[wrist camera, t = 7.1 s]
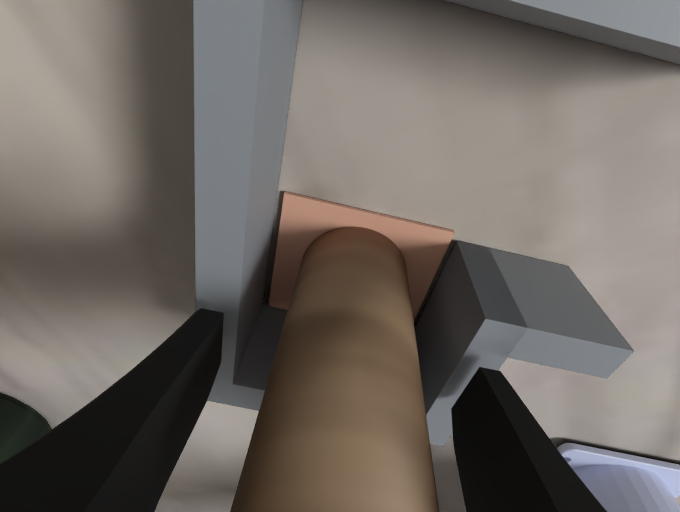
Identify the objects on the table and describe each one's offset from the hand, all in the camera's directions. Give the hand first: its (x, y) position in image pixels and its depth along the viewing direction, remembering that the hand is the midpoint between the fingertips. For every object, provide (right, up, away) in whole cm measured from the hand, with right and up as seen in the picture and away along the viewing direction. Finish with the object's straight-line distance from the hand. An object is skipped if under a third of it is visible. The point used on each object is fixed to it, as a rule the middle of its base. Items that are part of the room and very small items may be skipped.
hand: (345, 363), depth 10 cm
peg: (0, +2, +4) cm, 4 cm away
